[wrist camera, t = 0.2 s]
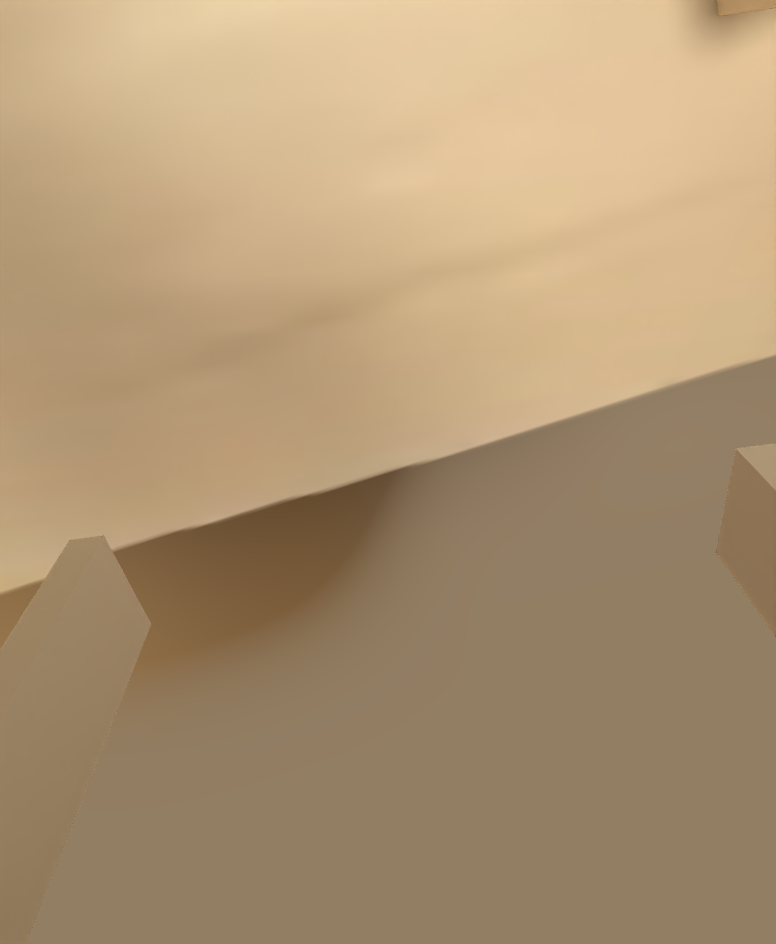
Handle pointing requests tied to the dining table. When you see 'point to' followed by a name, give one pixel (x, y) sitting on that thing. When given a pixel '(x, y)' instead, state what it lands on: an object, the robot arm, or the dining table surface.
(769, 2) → the block
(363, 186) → the dining table surface
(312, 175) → the dining table surface
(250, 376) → the dining table surface
